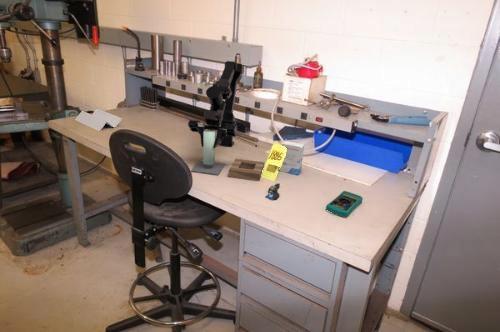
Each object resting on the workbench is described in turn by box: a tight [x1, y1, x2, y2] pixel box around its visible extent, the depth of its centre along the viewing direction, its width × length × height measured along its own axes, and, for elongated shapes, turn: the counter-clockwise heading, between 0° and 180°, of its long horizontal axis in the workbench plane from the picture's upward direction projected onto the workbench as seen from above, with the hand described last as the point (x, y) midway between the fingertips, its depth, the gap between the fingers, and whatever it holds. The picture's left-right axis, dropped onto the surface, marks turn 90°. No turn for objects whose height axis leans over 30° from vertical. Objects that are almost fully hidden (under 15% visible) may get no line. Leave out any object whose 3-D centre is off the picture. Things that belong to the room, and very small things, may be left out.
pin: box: [202, 129, 216, 165], centre depth 134 cm, size 4×4×13 cm
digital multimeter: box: [325, 190, 363, 218], centre depth 116 cm, size 7×15×3 cm, turn 143°
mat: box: [190, 160, 226, 176], centre depth 138 cm, size 11×11×1 cm
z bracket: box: [75, 108, 123, 132], centre depth 181 cm, size 12×25×6 cm
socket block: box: [228, 158, 265, 182], centre depth 135 cm, size 12×12×3 cm
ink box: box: [279, 140, 305, 176], centre depth 138 cm, size 9×5×12 cm, turn 65°
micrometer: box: [265, 183, 281, 201], centre depth 122 cm, size 12×2×5 cm
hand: (208, 147), depth 133 cm, fingers closed on pin, 4 cm apart
